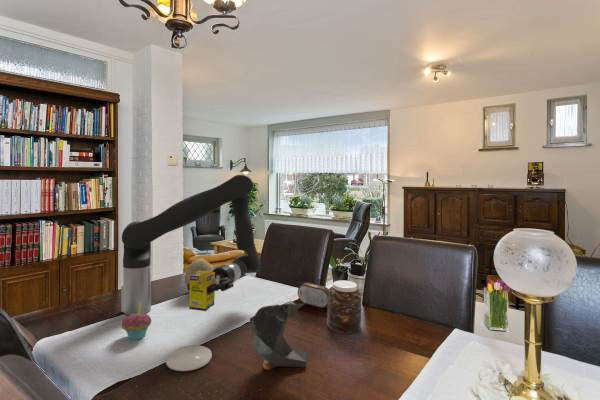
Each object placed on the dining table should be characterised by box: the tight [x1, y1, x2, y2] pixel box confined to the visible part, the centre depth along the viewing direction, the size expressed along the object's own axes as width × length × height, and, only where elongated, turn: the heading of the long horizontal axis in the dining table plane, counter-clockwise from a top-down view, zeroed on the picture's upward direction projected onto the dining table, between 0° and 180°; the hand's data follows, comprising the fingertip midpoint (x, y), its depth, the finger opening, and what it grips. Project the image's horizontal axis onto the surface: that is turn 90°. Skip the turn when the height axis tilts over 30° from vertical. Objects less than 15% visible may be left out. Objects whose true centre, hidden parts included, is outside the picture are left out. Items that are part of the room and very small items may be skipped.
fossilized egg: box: [184, 258, 215, 289], centre depth 148 cm, size 13×13×15 cm
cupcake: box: [120, 300, 152, 340], centre depth 108 cm, size 9×8×12 cm
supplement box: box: [188, 270, 216, 312], centre depth 109 cm, size 6×6×11 cm
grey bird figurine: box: [248, 300, 307, 371], centre depth 93 cm, size 14×15×18 cm
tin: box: [297, 282, 329, 309], centre depth 137 cm, size 15×3×8 cm, turn 58°
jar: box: [326, 279, 363, 335], centre depth 118 cm, size 12×12×15 cm
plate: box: [165, 344, 213, 372], centre depth 95 cm, size 12×12×1 cm
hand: (198, 289), depth 106 cm, fingers closed on supplement box, 6 cm apart
